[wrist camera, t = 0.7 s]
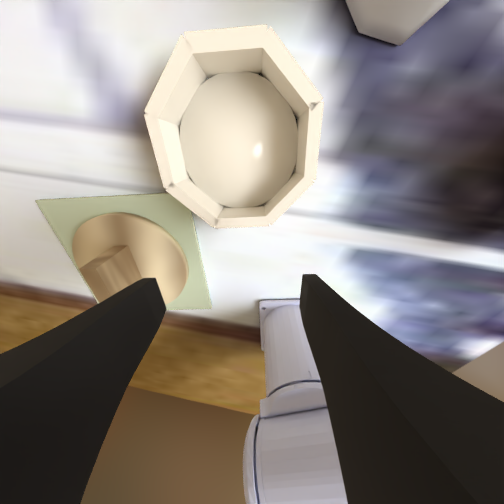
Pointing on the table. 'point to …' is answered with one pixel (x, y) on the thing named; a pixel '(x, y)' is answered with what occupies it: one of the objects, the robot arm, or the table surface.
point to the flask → (392, 17)
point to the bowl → (235, 126)
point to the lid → (128, 255)
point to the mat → (146, 205)
